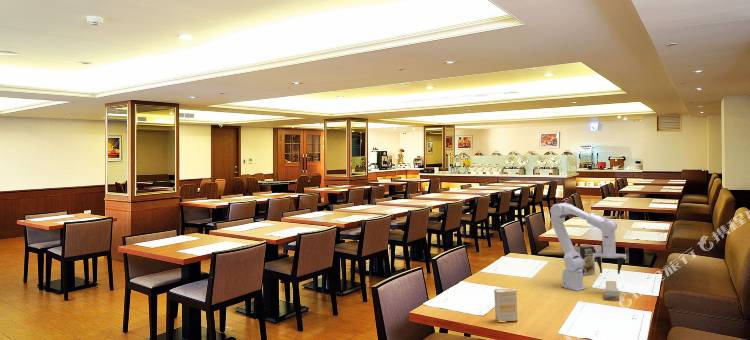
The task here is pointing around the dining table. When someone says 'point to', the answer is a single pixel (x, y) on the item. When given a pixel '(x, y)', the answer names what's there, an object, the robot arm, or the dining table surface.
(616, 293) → the grey slab
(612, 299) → the walnut slab
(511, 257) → the dining table surface
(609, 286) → the cream cube
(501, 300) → the supplement box
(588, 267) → the coffee box
